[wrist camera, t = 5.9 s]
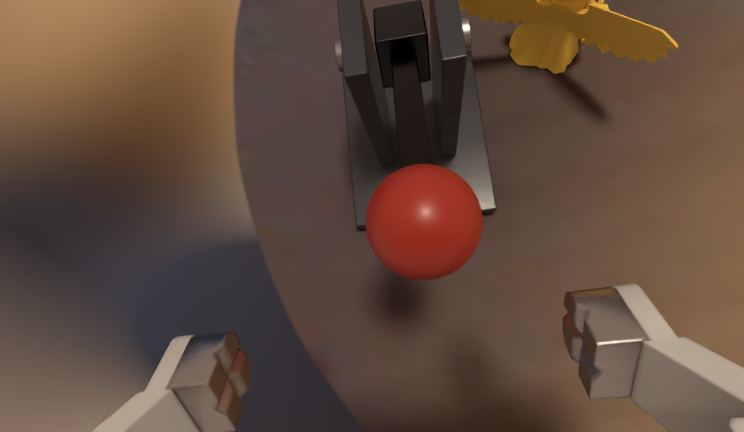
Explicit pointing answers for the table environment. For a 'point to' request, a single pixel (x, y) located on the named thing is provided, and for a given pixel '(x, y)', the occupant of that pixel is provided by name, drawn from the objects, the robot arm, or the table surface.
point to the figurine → (570, 31)
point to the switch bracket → (440, 96)
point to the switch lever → (417, 165)
